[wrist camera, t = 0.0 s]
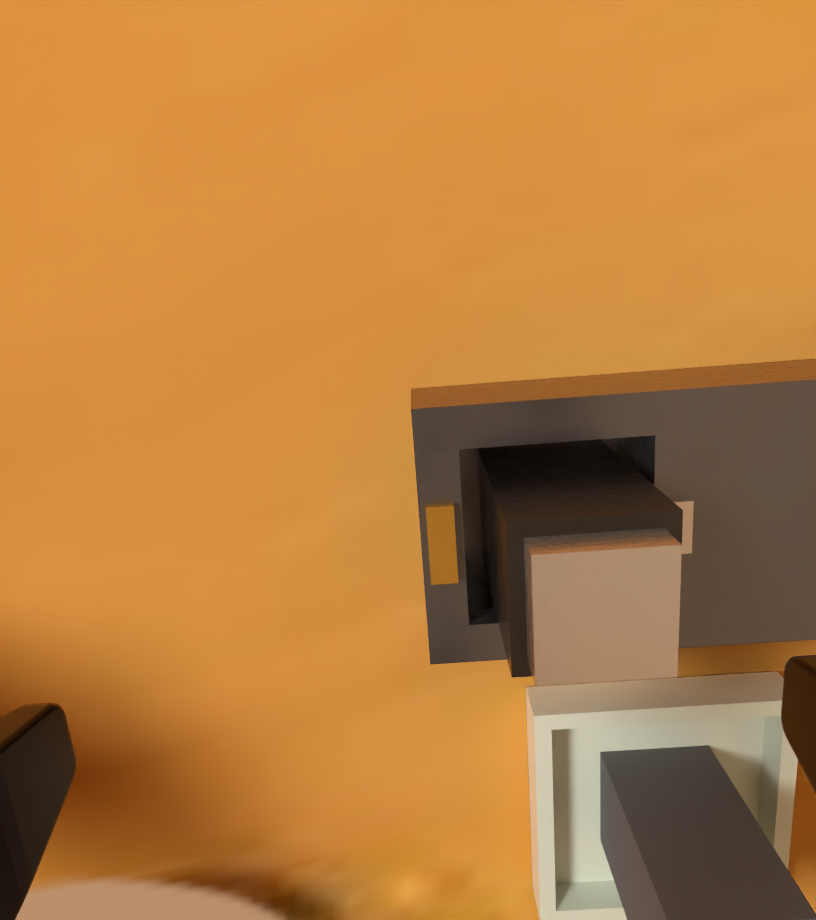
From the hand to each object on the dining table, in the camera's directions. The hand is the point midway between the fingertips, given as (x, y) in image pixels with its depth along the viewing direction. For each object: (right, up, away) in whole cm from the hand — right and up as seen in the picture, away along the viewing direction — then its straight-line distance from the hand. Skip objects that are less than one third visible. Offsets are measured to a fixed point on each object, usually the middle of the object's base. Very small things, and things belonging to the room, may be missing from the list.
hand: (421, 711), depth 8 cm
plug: (+9, -10, +17) cm, 22 cm away
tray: (+9, -9, +18) cm, 22 cm away
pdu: (+10, +2, +15) cm, 18 cm away
